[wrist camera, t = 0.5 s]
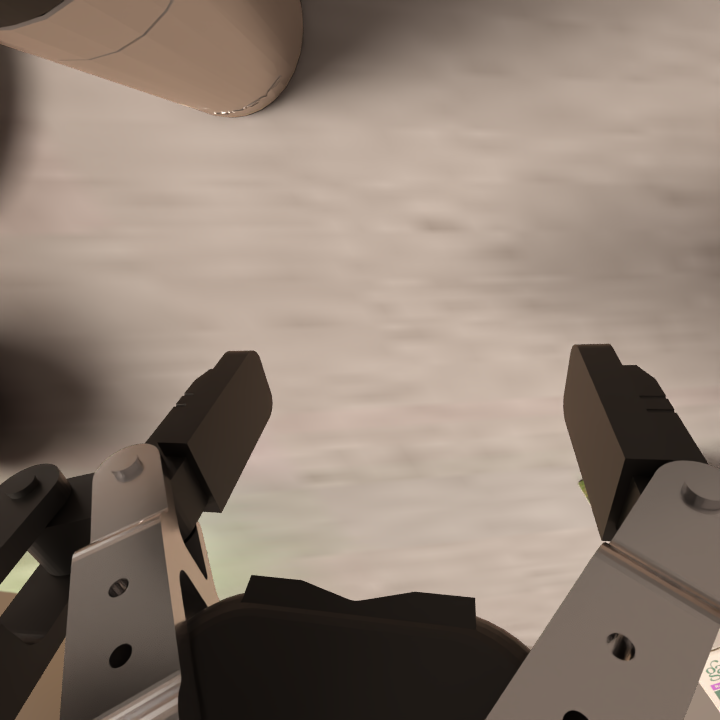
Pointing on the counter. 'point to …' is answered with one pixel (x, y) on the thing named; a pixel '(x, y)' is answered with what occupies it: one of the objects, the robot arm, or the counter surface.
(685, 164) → the counter surface
